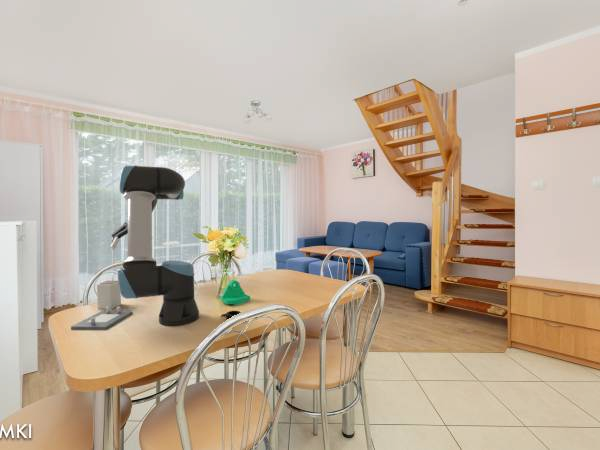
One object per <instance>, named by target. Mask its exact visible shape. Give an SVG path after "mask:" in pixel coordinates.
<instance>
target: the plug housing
mask: <svg viewBox="0 0 600 450" xmlns="http://www.w3.org/2000/svg"><path fill="white" fill-rule="evenodd" d="M96 293H97V295H96V296H97V299H96V300H97V310H106V307H110V310H112V309H115V308H117V307H120V305H122V297H121V296H122V295H121V292H120V288H119V282H118V280H105V281H103V282H99V283H98V284H96Z"/></svg>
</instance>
